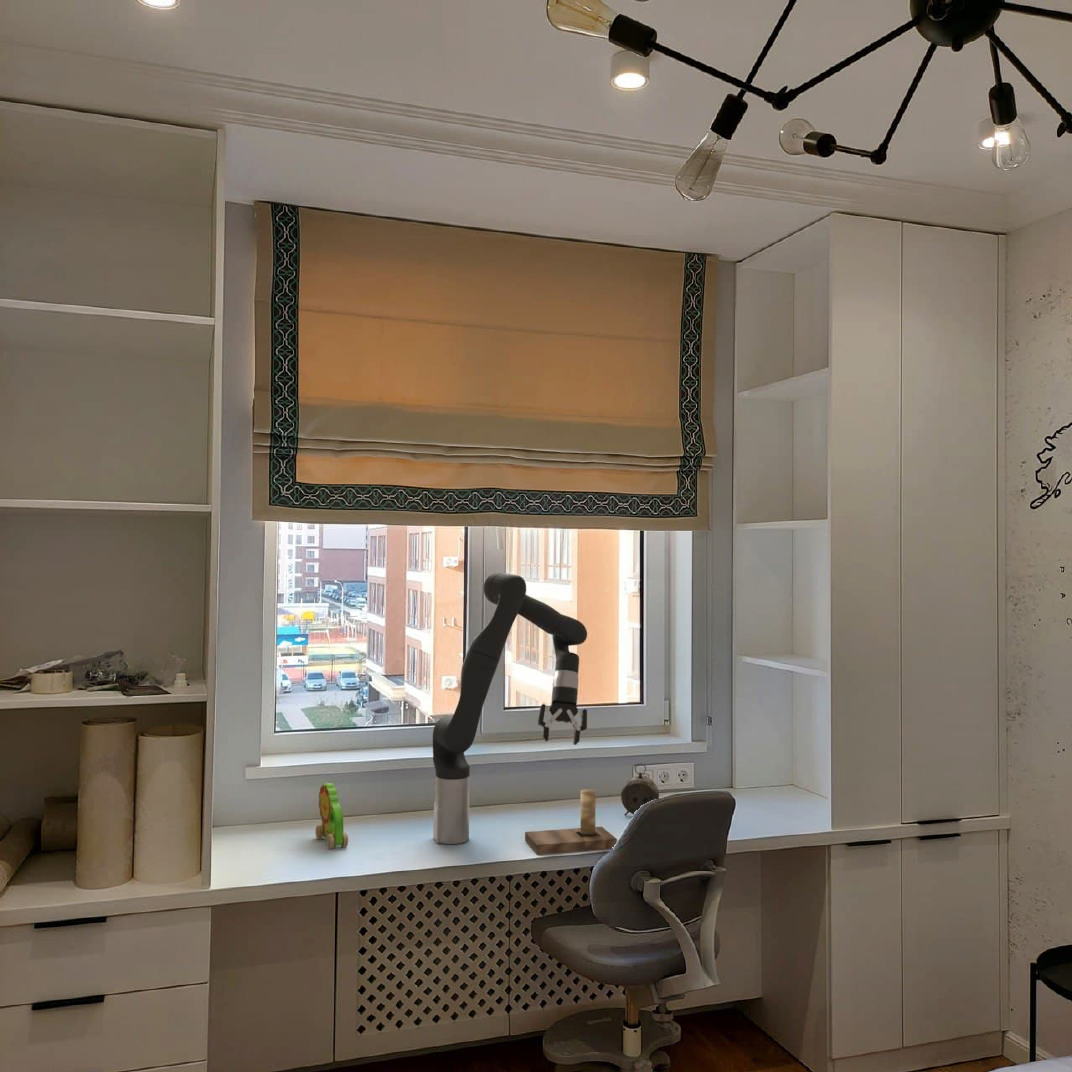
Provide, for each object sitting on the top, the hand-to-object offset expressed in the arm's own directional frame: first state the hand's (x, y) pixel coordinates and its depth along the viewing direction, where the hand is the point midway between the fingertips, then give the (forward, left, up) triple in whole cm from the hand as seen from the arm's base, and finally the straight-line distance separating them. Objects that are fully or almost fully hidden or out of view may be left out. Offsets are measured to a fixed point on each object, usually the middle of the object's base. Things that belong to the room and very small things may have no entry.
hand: (560, 742), depth 274 cm
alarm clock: (+24, -1, -23) cm, 34 cm away
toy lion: (-66, -3, -23) cm, 70 cm away
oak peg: (+1, -21, -23) cm, 31 cm away
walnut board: (-4, -21, -23) cm, 32 cm away
